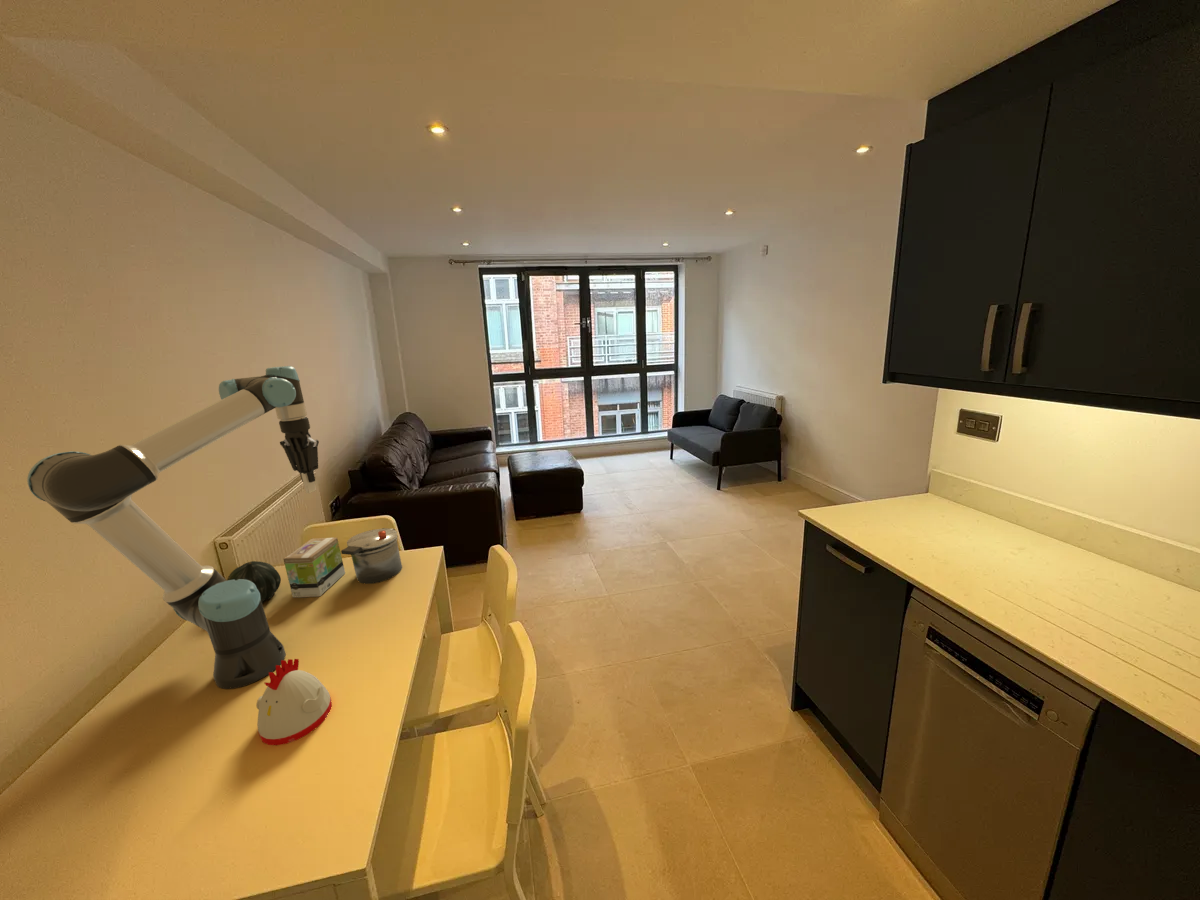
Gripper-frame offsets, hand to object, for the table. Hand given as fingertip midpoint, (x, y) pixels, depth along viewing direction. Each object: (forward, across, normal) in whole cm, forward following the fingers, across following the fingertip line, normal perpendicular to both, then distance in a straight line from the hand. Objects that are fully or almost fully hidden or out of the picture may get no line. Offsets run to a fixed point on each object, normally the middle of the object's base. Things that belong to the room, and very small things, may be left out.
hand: (311, 491), depth 145 cm
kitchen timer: (+37, -33, +44) cm, 67 cm away
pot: (+36, -5, -14) cm, 39 cm away
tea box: (+37, +10, -3) cm, 38 cm away
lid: (+24, -5, -13) cm, 27 cm away
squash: (+37, +25, +8) cm, 45 cm away
